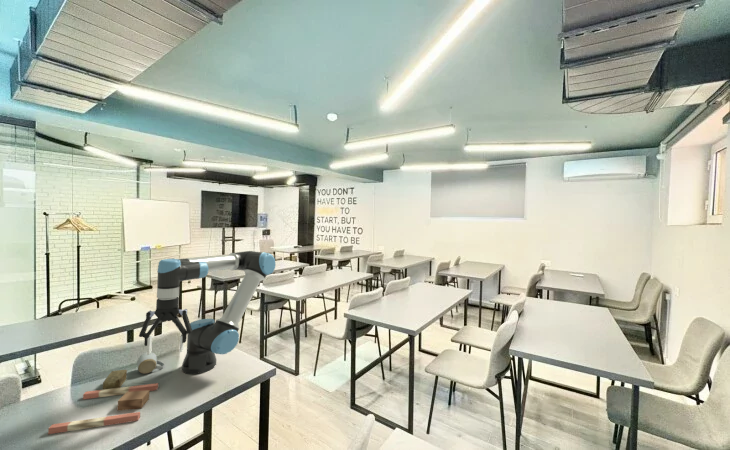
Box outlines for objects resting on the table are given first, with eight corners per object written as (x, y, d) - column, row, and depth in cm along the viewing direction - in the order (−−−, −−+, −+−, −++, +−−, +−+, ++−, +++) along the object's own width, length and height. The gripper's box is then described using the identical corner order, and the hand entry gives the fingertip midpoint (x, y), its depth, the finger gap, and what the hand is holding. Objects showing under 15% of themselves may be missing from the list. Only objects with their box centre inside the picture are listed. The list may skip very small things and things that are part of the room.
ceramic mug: (137, 376, 134) (138, 360, 134) (136, 369, 140) (137, 353, 140) (165, 370, 141) (166, 354, 141) (163, 363, 147) (164, 348, 147)
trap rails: (158, 387, 126) (158, 383, 126) (137, 420, 106) (138, 415, 106) (85, 396, 118) (86, 391, 118) (48, 434, 97) (48, 428, 97)
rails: (130, 391, 123) (130, 386, 123) (103, 425, 102) (103, 420, 102) (101, 394, 120) (101, 389, 120) (67, 431, 99) (67, 425, 99)
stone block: (101, 395, 120) (101, 382, 120) (110, 381, 130) (111, 370, 130) (119, 392, 122) (119, 380, 122) (127, 378, 133) (127, 367, 133)
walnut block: (149, 399, 118) (149, 390, 118) (141, 409, 112) (142, 398, 112) (126, 401, 116) (126, 391, 116) (117, 411, 110) (117, 400, 110)
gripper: (201, 294, 125) (199, 345, 125) (137, 296, 117) (135, 350, 117) (198, 298, 118) (195, 353, 118) (129, 301, 110) (127, 359, 110)
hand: (165, 351), depth 118 cm, fingers open, 10 cm apart
